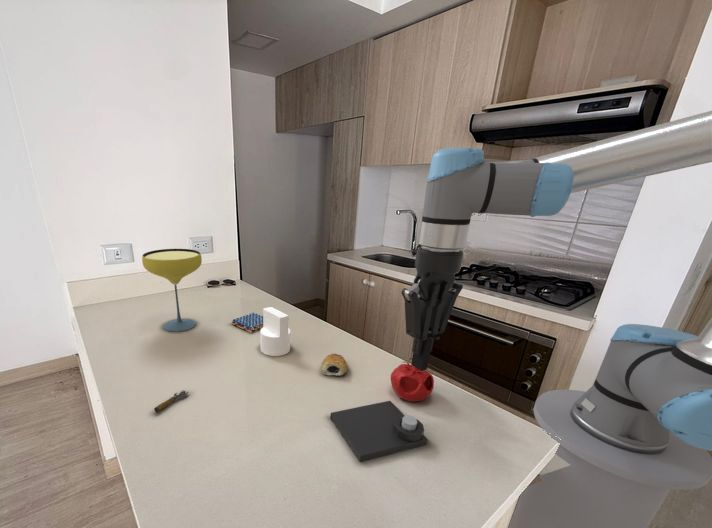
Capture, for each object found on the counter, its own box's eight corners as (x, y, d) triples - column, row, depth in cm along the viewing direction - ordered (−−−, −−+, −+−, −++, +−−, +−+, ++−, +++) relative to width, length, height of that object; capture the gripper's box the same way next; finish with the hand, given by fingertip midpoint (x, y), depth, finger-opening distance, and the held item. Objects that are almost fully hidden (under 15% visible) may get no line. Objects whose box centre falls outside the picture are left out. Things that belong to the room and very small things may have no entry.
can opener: (157, 413, 74) (156, 409, 74) (151, 409, 75) (150, 404, 75) (190, 394, 81) (190, 390, 81) (184, 390, 82) (184, 386, 82)
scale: (390, 405, 79) (392, 394, 78) (428, 444, 68) (430, 431, 66) (330, 417, 74) (331, 406, 73) (359, 461, 63) (361, 449, 62)
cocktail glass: (156, 317, 125) (147, 248, 115) (207, 314, 128) (202, 248, 119) (147, 338, 108) (135, 260, 99) (205, 334, 112) (199, 259, 102)
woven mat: (230, 324, 120) (229, 319, 119) (252, 316, 127) (252, 311, 126) (249, 333, 113) (249, 327, 113) (272, 324, 121) (272, 319, 120)
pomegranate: (383, 382, 88) (388, 350, 84) (421, 382, 88) (427, 350, 85) (396, 406, 78) (402, 371, 75) (438, 406, 79) (446, 371, 76)
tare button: (410, 420, 70) (411, 414, 69) (418, 429, 68) (420, 423, 67) (398, 423, 69) (399, 417, 69) (407, 432, 67) (408, 426, 66)
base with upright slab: (254, 347, 104) (254, 310, 100) (278, 339, 110) (278, 304, 105) (271, 358, 98) (271, 320, 93) (296, 350, 103) (297, 313, 99)
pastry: (324, 358, 99) (325, 346, 97) (347, 361, 98) (349, 349, 96) (320, 375, 90) (321, 362, 89) (345, 378, 89) (347, 366, 88)
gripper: (449, 242, 64) (428, 352, 73) (396, 246, 59) (380, 364, 68) (485, 249, 58) (457, 369, 67) (429, 254, 53) (407, 384, 62)
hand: (419, 366), depth 67 cm, fingers closed
